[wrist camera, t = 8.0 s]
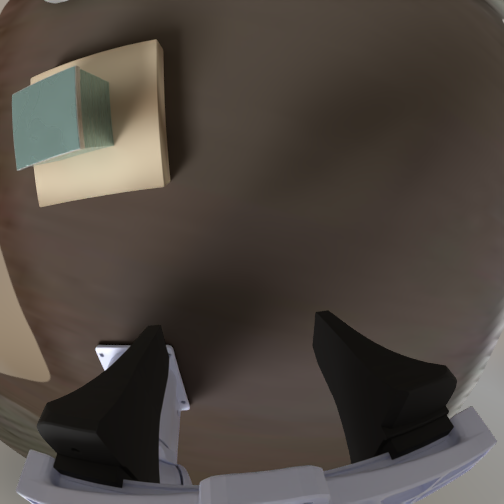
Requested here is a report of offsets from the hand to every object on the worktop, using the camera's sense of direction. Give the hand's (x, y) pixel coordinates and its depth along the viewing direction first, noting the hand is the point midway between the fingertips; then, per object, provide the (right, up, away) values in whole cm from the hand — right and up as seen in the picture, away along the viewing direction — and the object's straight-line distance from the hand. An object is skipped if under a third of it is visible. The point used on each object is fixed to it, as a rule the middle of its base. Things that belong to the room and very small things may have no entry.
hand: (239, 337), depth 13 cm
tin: (-11, +12, +2) cm, 16 cm away
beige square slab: (-10, +13, +5) cm, 18 cm away
